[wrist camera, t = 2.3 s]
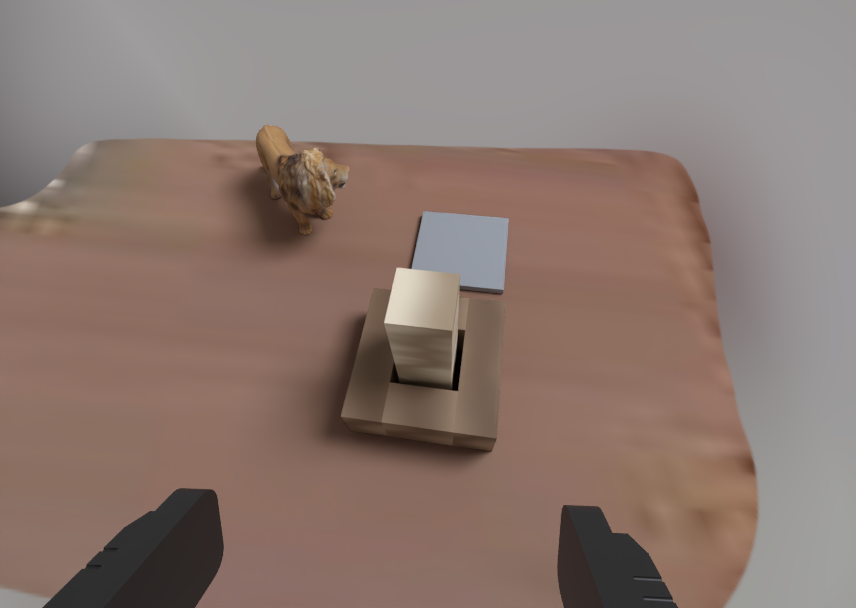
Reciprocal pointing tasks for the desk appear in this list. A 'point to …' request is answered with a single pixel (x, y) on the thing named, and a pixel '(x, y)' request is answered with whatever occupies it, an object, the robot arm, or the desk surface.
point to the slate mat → (464, 249)
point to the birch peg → (424, 327)
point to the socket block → (422, 406)
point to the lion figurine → (299, 176)
